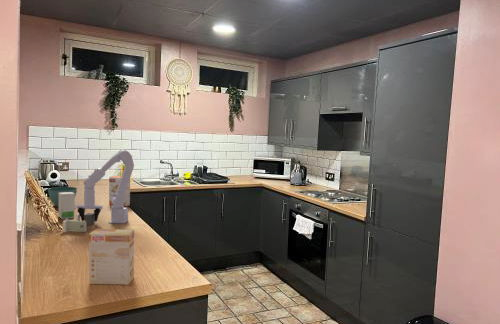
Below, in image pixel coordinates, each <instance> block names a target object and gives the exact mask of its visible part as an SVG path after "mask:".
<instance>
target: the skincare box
mask: <svg viewBox="0 0 500 324" xmlns="http://www.w3.org/2000/svg"><path fill="white" fill-rule="evenodd" d="M58 194H59V207H58V208H57V209H58V215H59V217H60V218H61V220H65V219H74V218H76V214H75V213H76V211H75V207H76V204H75V203H76V202H75V201H76V200H75V199H76V196H75V193H73V192H63V193H58ZM58 215H57V216H58ZM59 217H58V218H59ZM60 218H59V219H60Z"/></svg>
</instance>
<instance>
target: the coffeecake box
mask: <svg viewBox="0 0 500 324" xmlns="http://www.w3.org/2000/svg"><path fill="white" fill-rule="evenodd" d="M88 267H89V268H88V269H89V270H88V277H89V278H88V280H89V281H88V283H89V285H126V286H129V285H130V284H131V282H132V281H133V280H134V279H135V229H115V228H114V229H111V228H109V229H108V228H96V229H94V230H93V231H91V232H89V233H88Z"/></svg>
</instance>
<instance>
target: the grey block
mask: <svg viewBox="0 0 500 324" xmlns="http://www.w3.org/2000/svg"><path fill="white" fill-rule="evenodd" d="M94 219H95V216H94V212H87V213H85V214H84V221H86V226H92V225H93V224H95V223H96V222H95V220H94Z"/></svg>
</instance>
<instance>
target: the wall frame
mask: <svg viewBox="0 0 500 324" xmlns="http://www.w3.org/2000/svg"><path fill="white" fill-rule="evenodd" d="M68 220H69V218H66V219H64V220H63V221H62V233H67V232H70V230H68ZM75 221H81V216H80V214H79V213H77V214H75Z"/></svg>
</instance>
